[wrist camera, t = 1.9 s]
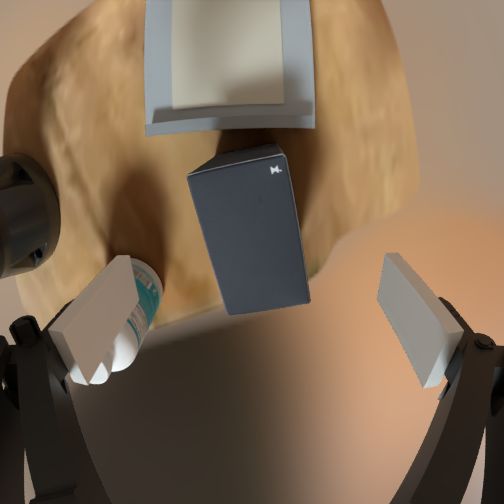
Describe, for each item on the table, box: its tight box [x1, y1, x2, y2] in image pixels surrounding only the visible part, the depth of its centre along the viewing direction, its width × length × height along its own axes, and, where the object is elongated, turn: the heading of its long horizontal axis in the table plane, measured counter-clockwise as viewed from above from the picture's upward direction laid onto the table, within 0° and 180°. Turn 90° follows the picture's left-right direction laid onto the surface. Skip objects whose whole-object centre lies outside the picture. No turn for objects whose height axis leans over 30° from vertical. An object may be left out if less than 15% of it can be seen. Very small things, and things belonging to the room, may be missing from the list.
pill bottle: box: [90, 258, 163, 384], centre depth 26 cm, size 8×7×14 cm
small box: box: [187, 142, 311, 315], centre depth 23 cm, size 11×6×10 cm, turn 12°
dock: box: [144, 0, 315, 137], centre depth 20 cm, size 14×16×4 cm
